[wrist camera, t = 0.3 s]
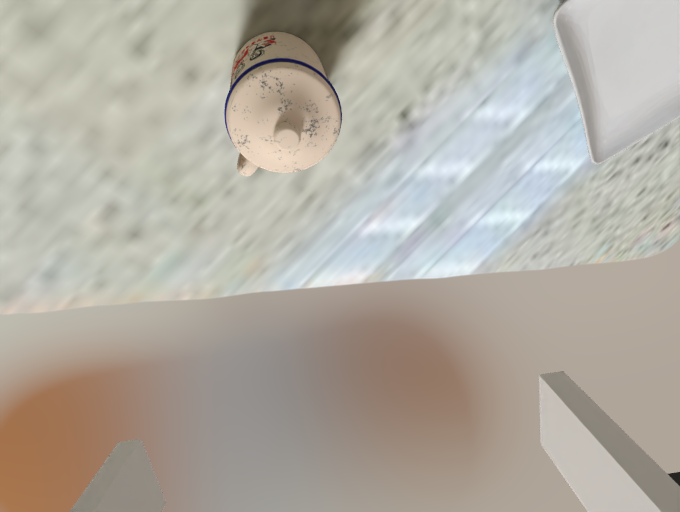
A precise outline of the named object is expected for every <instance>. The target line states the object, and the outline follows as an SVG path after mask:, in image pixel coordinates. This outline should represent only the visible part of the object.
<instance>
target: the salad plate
mask: <svg viewBox="0 0 680 512" xmlns="http://www.w3.org/2000/svg"><path fill="white" fill-rule="evenodd" d="M553 26H554V31H555V35H556V39H557V42H558V46H559V49H560V52H561V54H562V57H563V60H564V63H565V65H566V68H567V71H568V74H569V77H570V80H571V83H572V86H573V89H574V92H575V95H576V99H577V102H578V106H579V110H580V114H581V118H582V122H583V127H584V132H585V137H586V142H587V147H588V152H589V156H590V159H591V161H592V162H593V163H594V164H601V163H603V162H605V161H606V160H608V159H610V158H612V157H614V156H615V155H617V154H619V153H620V152H622V151H624V150H625V149H627V148H629V147H630V146H632V145H634V144H636V143H637V142H639V141H641V140H642V139H644V138H646V137H647V136H649V135H651V134H652V133H654V132H656V131H657V130H659V129H661V128H663V127H664V126H666V125H668V124H669V123H671V122H673V121H674V120H676V119H678V118H679V117H680V0H565V1H563V2H562V3H561V4H560V5H559V6H558V8H557V9H556V11H555V13H554V16H553Z"/></svg>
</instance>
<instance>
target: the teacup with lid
mask: <svg viewBox="0 0 680 512" xmlns="http://www.w3.org/2000/svg"><path fill="white" fill-rule="evenodd" d="M341 121H342V112H341V105H340V101H339V98H338V95H337V93H336V91H335V89H334V87H333V86H332V84H331V83H330V82H329V80H328V79H327V76H326V74H325V71H324V69H323V66H322V64H321V62H320V59H319V58H318V56H317V54H316V53H315V51H314V50H313V49H312V48H311V47H310V46H309V45H308V44H307V43H306V42H305V41H303V40H302V39H300V38H298V37H296V36H294V35H292V34H289V33H285V32H267V33H263V34H260V35H258V36H256V37H254V38H252V39H251V40H249V41H248V42H247V43H246V44H245V45H244V46H243V47H242V48H241V49H240V51H239V52H238V54H237V56H236V58H235V60H234V63H233V67H232V75H231V85H230V91H229V93H228V96H227V99H226V103H225V124H226V128H227V131H228V134H229V136H230V139H231V140H232V142H233V144H234V145H235V147H236V148H237V149H238V151H239V152H240V154H239V158H238V163H237V169H238V172H239V173H240V174H242V175H244V176H250V175H252V174H253V173H254V172H255V171H256V169H257V168H258V167H261V168H263V169H266V170H269V171H273V172H280V173H290V172H297V171H301V170H304V169H307V168H309V167H311V166H313V165H315V164H316V163H318V162H319V161H321V160H322V159H323V158H324V157H325V156H326V155H327V154H328V153H329V152H330V150H331V149H332V147H333V146H334V144H335V142H336V140H337V138H338V135H339V132H340V128H341Z"/></svg>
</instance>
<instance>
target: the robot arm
mask: <svg viewBox="0 0 680 512" xmlns="http://www.w3.org/2000/svg"><path fill="white" fill-rule="evenodd" d="M539 395H540V434H541V445H542V447H543V448H544V449H545V451H546V452H547V454H548V455H549V457H550V458H551V459H552V461H553V462H554V464H555V465H556V467H557V468H558V470H559V471H560V472H561V474H562V475H563V477H564V478H565V480H566V481H567V483H568V484H569V485H570V487H571V488H572V490H573V491H574V493H575V494H576V496H577V497H578V498H579V500H580V501H581V502H582V504H583V505H584V507H585V508H586V510H587V511H588V512H680V472H677V473H671V474H667V473H666V472H665V471H664V470H663V469H662V468H660V466H659V465H658V464H656V462H655V461H654V460H653V459H652V458H650V457H649V455H647V454H646V453H645V452H644V451H643V450H642V449H641V448H640V447H639V446H638V445H637V444H636V443H635V442H634V441H633V440H632V439H631V438H630V437H629V436H628V435H627V434H626V433H625V432H624V431H623V430H622V429H621V428H620V427H619V426H618V425H617V424H616V423H615V422H614V421H613V420H612V419H611V418H610V417H609V416H608V415H607V414H606V413H605V412H604V411H603V410H602V409H601V408H600V407H599V406H598V405H597V404H596V403H595V402H594V401H593V400H592V399H591V398H590V397H589V396H588V395H587V394H586V393H585V392H584V391H583V390H581V388H580V387H578V385H576V384H575V383H574V381H572V380H571V379H570V378H569V377H568V376H567V375H566V374H565V373H564V372H563V371H560V372H554V373H548V374H542V375H539ZM165 504H166V501H165V498H164V496H163V493H162V491H161V488H160V486H159V483H158V480H157V478H156V475H155V473H154V470H153V468H152V465H151V463H150V460H149V458H148V455H147V452H146V450H145V447H144V445H143V443H142V440H141V439H136V440H130V441H124V442H119V443H118V444H117V445H116V447H115V448H114V450H113V451H112V452H111V454H110V455H109V457H108V458H107V460H106V461H105V462H104V464H103V465H102V467H101V468H100V469H99V471H98V472H97V474H96V475H95V476H94V478H93V479H92V481H91V482H90V483H89V485H88V486H87V488H86V489H85V491H84V492H83V493H82V495H81V496H80V498H79V499H78V501H77V502H76V503H75V505H74V506H73V508H72V509H71V510H70V512H162V510H163V508H164V506H165Z"/></svg>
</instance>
